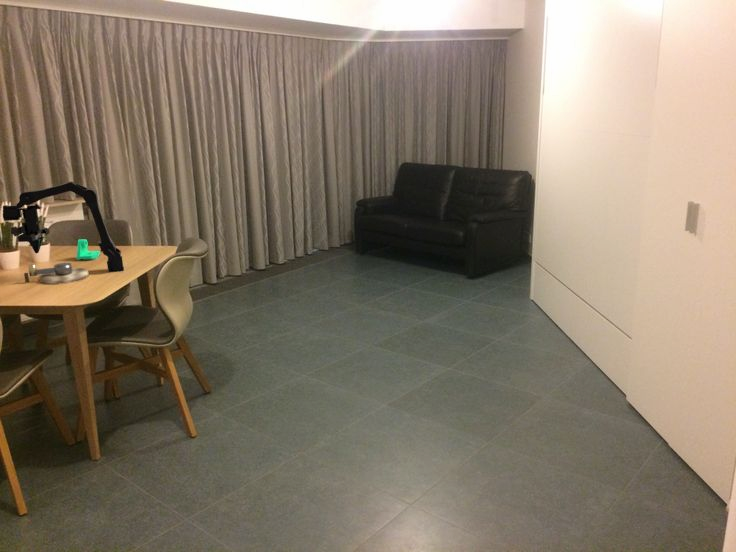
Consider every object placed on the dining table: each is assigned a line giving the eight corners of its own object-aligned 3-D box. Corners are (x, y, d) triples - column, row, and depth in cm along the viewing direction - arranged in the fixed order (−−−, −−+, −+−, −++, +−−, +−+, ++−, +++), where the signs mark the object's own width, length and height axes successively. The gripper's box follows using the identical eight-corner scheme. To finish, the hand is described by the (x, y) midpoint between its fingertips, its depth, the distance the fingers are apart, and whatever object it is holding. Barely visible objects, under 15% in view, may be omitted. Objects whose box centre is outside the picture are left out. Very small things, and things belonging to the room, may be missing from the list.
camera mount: (92, 261, 293) (89, 241, 290) (77, 261, 292) (74, 242, 289) (101, 255, 304) (98, 236, 301) (86, 256, 303) (83, 237, 301)
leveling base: (89, 270, 274) (88, 262, 273) (87, 280, 256) (86, 272, 255) (28, 276, 265) (27, 268, 263) (22, 288, 247) (21, 279, 246)
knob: (72, 270, 265) (70, 258, 264) (72, 273, 260) (70, 261, 258) (30, 275, 258) (28, 263, 256) (29, 279, 252) (27, 266, 250)
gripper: (21, 216, 264) (27, 249, 268) (1, 223, 246) (8, 258, 250) (47, 215, 265) (52, 248, 269) (29, 222, 247) (35, 257, 251)
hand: (36, 253), depth 260 cm, fingers closed
